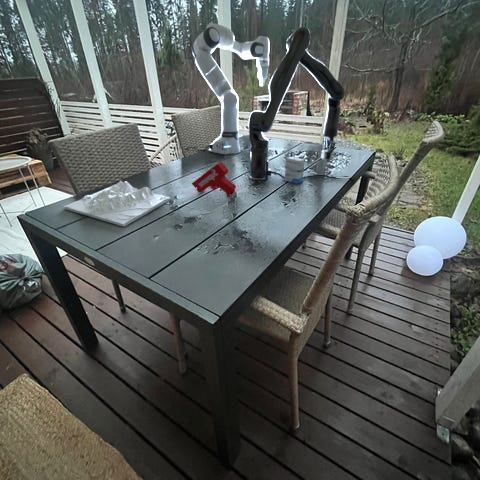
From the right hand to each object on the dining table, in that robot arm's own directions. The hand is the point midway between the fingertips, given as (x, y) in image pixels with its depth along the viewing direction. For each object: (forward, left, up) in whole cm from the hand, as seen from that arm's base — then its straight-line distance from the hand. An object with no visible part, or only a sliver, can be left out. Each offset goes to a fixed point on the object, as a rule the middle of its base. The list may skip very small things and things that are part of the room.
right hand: (326, 157), depth 160 cm
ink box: (+24, +22, -6) cm, 33 cm away
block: (0, 0, -1) cm, 1 cm away
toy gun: (+66, +35, -6) cm, 75 cm away
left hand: (+30, -74, +33) cm, 86 cm away
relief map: (+108, +44, -6) cm, 117 cm away
